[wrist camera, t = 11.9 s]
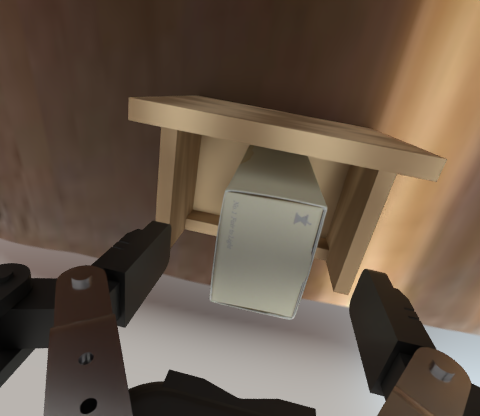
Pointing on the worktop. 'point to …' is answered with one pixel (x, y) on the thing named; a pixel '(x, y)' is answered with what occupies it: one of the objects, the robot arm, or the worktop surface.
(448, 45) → the worktop surface
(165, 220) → the caddy
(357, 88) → the worktop surface
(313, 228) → the skincare box
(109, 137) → the worktop surface
